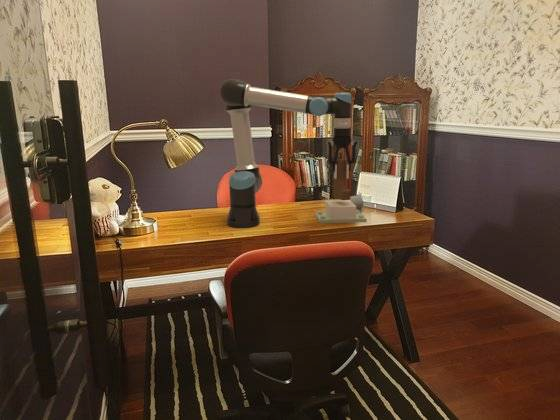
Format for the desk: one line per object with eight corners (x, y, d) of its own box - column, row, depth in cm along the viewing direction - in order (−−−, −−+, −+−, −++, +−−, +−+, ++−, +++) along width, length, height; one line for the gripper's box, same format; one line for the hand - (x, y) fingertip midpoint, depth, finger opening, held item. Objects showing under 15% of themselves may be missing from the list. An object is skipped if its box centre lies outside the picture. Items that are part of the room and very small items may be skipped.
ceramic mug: (342, 209, 231) (343, 194, 229) (357, 207, 233) (357, 193, 231) (351, 214, 221) (351, 199, 219) (366, 213, 223) (367, 198, 221)
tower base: (319, 223, 205) (319, 207, 203) (315, 215, 219) (315, 200, 217) (366, 221, 207) (367, 206, 205) (359, 214, 220) (359, 199, 218)
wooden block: (350, 199, 207) (351, 161, 203) (342, 200, 205) (343, 161, 201) (340, 196, 215) (341, 159, 211) (332, 197, 213) (333, 159, 209)
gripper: (324, 128, 198) (323, 180, 204) (363, 127, 199) (362, 179, 205) (321, 127, 205) (320, 177, 211) (359, 126, 206) (358, 176, 212)
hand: (341, 178), depth 208 cm, fingers closed on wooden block, 5 cm apart
